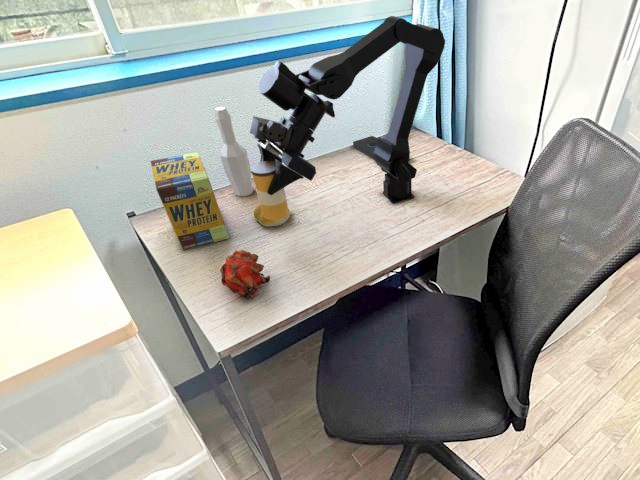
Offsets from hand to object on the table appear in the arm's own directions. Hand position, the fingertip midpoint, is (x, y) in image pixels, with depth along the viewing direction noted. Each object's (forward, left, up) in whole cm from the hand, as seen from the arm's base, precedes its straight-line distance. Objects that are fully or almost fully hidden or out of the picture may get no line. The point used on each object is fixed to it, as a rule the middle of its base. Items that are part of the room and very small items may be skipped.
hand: (263, 188), depth 91 cm
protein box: (+15, -14, -14) cm, 24 cm away
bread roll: (-2, -10, -14) cm, 17 cm away
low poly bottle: (+2, -27, -14) cm, 30 cm away
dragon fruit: (+10, +14, -14) cm, 22 cm away
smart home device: (-41, -31, -14) cm, 54 cm away
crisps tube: (-1, 0, -7) cm, 7 cm away
